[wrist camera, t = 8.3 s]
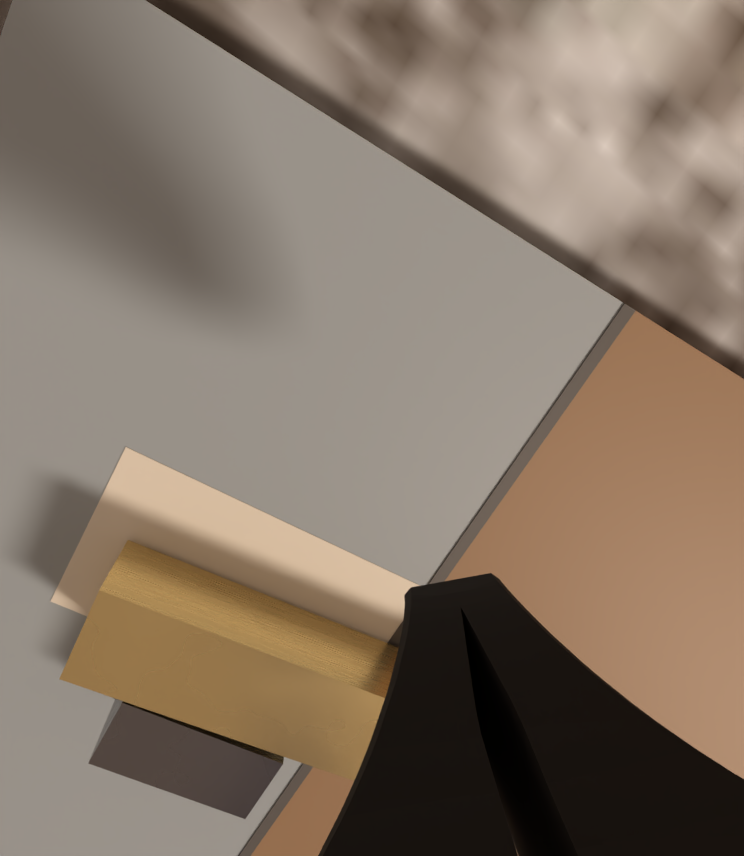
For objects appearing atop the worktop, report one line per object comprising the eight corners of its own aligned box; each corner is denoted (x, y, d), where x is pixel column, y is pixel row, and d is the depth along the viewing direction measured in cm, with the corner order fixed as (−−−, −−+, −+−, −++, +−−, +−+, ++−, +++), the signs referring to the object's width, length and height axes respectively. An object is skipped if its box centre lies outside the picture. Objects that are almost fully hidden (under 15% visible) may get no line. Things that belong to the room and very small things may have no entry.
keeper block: (254, 752, 18) (245, 819, 16) (115, 699, 17) (88, 763, 15) (288, 701, 17) (283, 763, 16) (146, 643, 17) (122, 702, 15)
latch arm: (545, 697, 18) (572, 765, 16) (487, 774, 19) (506, 848, 16) (131, 531, 15) (100, 586, 13) (87, 628, 16) (51, 694, 14)
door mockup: (569, 1008, 25) (580, 1049, 24) (-225, 751, 19) (-262, 788, 17) (1027, 562, 19) (1073, 587, 17) (63, -47, 12) (34, -70, 11)
